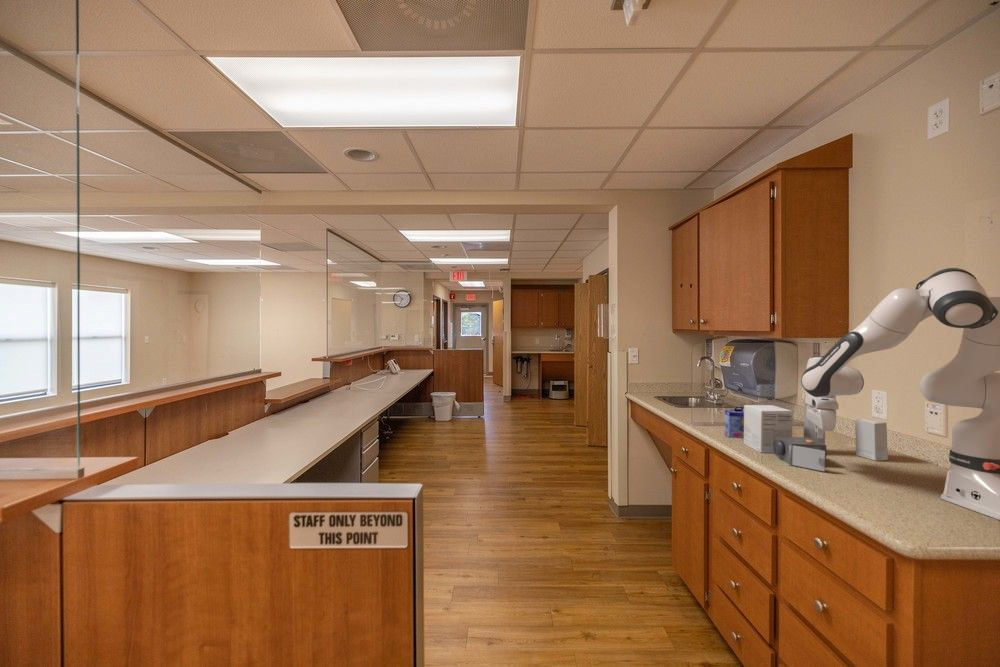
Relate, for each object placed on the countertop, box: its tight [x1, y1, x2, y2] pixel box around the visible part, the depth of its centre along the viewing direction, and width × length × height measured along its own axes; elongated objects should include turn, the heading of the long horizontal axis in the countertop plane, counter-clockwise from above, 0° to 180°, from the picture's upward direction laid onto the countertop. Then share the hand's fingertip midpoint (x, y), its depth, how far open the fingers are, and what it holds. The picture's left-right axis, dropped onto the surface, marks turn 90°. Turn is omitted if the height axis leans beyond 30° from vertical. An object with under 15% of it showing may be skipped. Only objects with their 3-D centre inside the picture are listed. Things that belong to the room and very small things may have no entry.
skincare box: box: [854, 418, 889, 462], centre depth 169 cm, size 8×6×15 cm
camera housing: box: [773, 436, 827, 468], centre depth 164 cm, size 11×14×9 cm
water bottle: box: [802, 399, 826, 445], centre depth 176 cm, size 9×8×25 cm
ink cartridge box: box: [724, 406, 744, 439], centre depth 200 cm, size 10×6×14 cm, turn 85°
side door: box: [788, 445, 826, 472], centre depth 155 cm, size 1×11×7 cm, turn 44°
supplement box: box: [743, 404, 794, 454], centre depth 180 cm, size 13×13×18 cm
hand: (819, 437), depth 155 cm, fingers closed
